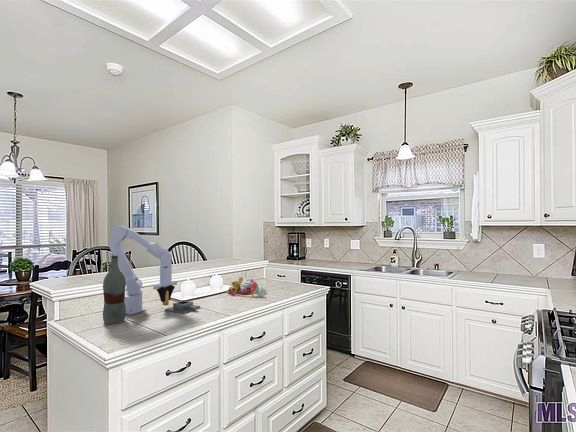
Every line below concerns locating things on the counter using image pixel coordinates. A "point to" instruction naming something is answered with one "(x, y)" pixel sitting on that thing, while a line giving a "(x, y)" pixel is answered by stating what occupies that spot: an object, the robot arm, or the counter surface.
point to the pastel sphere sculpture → (246, 288)
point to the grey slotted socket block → (183, 307)
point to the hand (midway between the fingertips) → (165, 300)
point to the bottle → (114, 294)
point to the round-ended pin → (166, 299)
